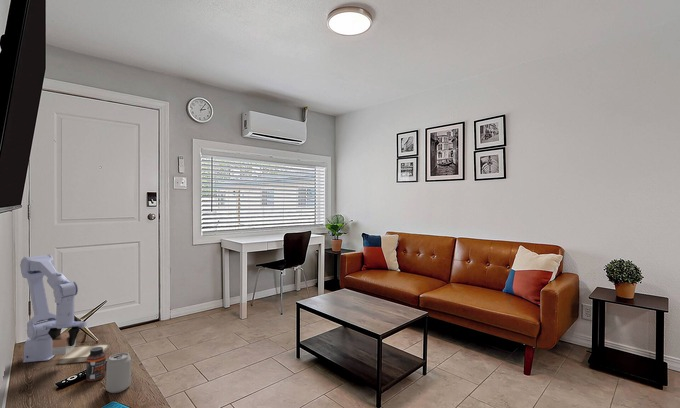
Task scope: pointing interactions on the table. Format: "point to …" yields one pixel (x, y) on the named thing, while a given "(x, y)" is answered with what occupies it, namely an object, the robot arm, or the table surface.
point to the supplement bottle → (96, 364)
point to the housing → (62, 344)
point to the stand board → (80, 353)
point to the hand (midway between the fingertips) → (64, 345)
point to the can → (118, 372)
